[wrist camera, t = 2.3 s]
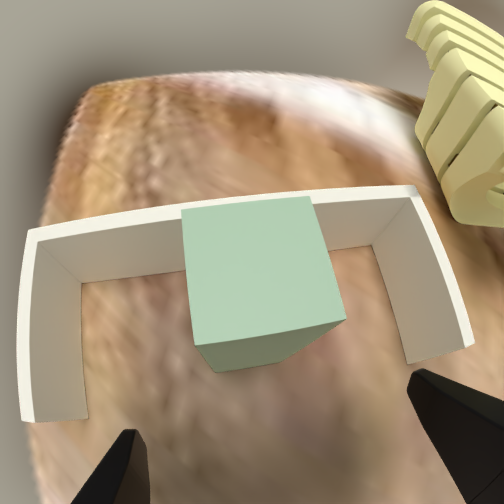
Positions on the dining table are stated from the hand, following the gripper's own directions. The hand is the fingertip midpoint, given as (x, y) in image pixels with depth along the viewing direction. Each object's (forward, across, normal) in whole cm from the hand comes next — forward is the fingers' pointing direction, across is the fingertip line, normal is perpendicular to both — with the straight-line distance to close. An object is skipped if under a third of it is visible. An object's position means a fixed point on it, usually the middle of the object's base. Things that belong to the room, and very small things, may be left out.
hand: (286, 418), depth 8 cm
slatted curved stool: (+20, -30, -4) cm, 37 cm away
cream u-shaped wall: (+12, 0, +5) cm, 13 cm away
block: (+12, 0, +5) cm, 13 cm away
